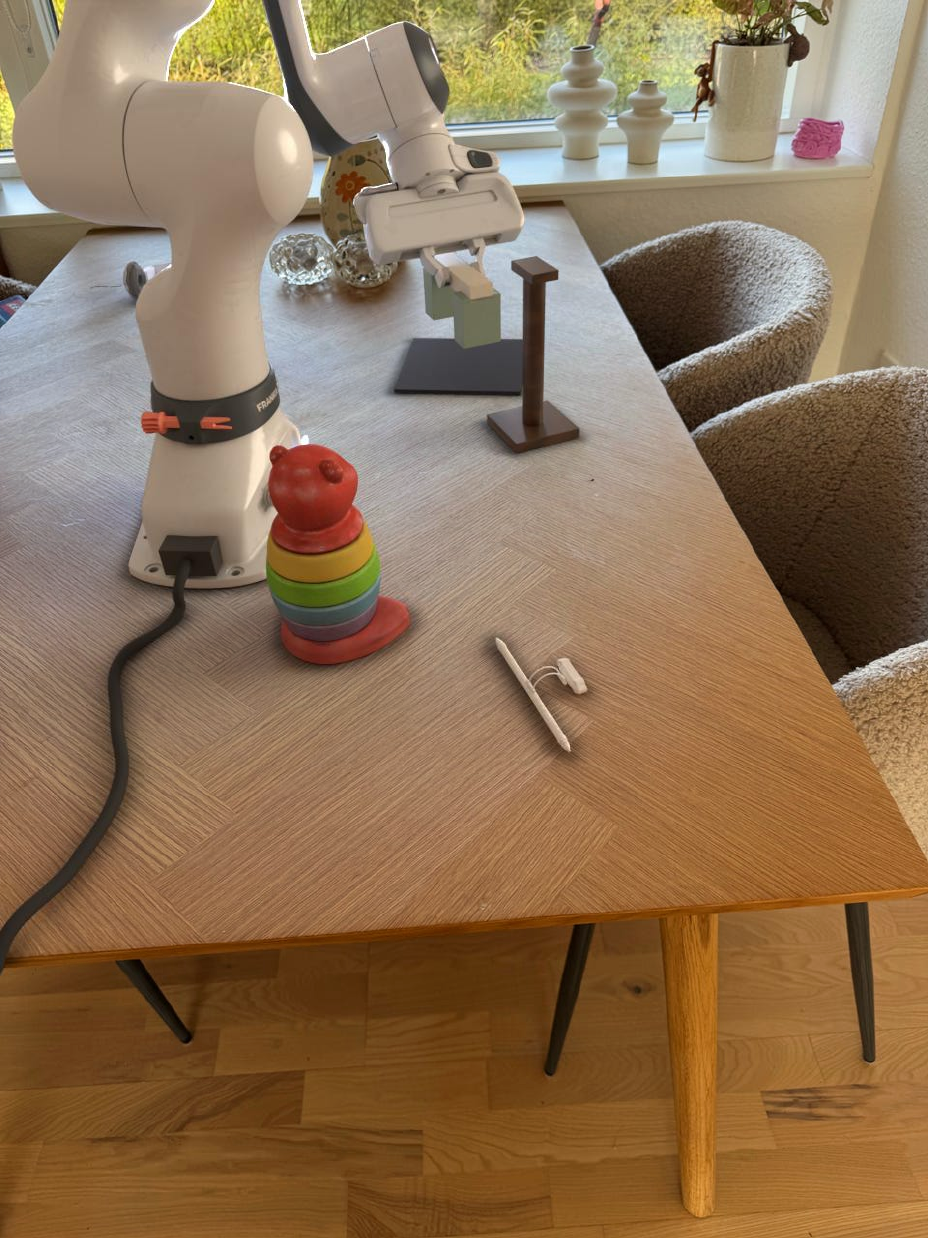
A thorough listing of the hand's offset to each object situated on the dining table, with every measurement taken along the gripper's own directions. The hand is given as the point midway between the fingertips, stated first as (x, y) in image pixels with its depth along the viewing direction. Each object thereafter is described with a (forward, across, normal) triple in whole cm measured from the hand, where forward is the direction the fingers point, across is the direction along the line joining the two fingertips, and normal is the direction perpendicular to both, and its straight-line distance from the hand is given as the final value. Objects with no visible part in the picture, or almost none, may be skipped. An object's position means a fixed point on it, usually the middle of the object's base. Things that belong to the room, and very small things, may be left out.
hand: (462, 281), depth 114 cm
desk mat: (+8, 0, +8) cm, 11 cm away
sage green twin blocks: (+4, 0, +5) cm, 6 cm away
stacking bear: (+39, -31, -23) cm, 55 cm away
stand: (+22, 0, -6) cm, 22 cm away
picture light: (+49, -18, -33) cm, 62 cm away
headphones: (-26, -30, +42) cm, 58 cm away
